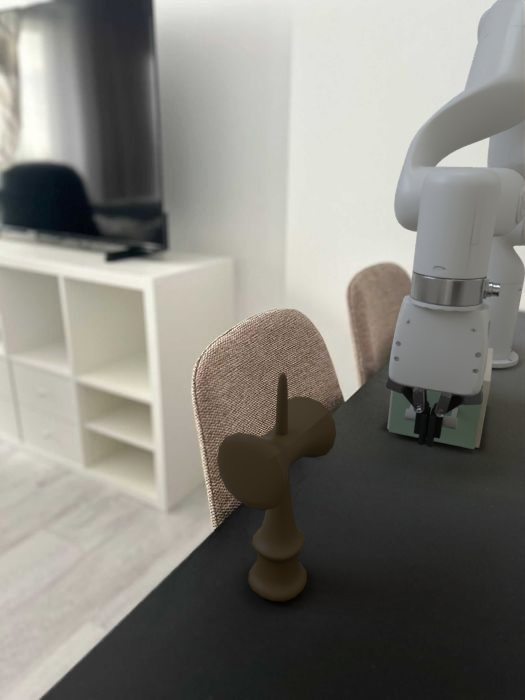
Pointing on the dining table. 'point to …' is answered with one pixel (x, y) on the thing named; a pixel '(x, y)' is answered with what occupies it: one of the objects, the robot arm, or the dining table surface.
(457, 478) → the dining table surface
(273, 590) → the kendama
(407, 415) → the green drawer
